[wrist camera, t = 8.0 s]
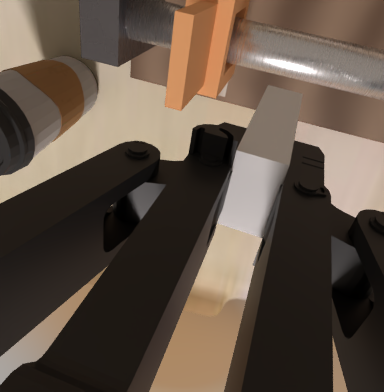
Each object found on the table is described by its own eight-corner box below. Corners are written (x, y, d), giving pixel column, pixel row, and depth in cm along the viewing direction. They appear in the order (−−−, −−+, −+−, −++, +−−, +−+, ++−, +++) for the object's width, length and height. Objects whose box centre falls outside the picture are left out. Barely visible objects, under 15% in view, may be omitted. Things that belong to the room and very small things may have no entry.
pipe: (501, 36, 25) (571, 67, 18) (452, 112, 29) (495, 163, 22) (135, -39, 30) (77, -38, 23) (132, 35, 33) (81, 57, 26)
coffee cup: (33, 86, 42) (-81, 139, 30) (56, 27, 37) (-69, 61, 25) (89, 132, 43) (2, 199, 31) (120, 80, 38) (29, 137, 26)
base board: (531, -29, 24) (543, -28, 23) (422, 146, 33) (426, 154, 31) (145, -98, 28) (137, -100, 27) (136, 73, 37) (129, 77, 36)
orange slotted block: (253, -14, 25) (216, 3, 16) (233, 73, 29) (195, 126, 20) (213, -22, 26) (157, -10, 17) (199, 65, 30) (147, 113, 21)
